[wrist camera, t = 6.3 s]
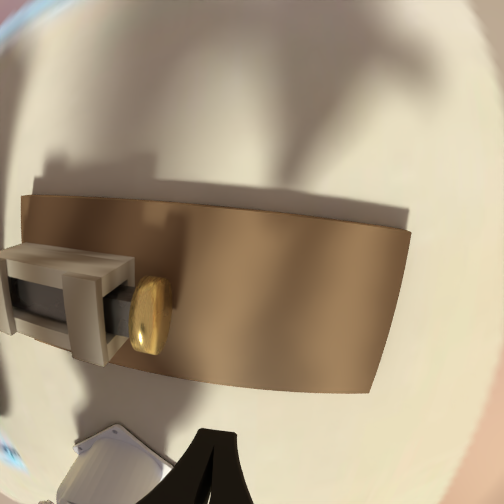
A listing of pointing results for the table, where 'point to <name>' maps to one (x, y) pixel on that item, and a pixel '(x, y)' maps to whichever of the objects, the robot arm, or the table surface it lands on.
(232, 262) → the board
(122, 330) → the shaft
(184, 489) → the robot arm
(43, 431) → the table surface
